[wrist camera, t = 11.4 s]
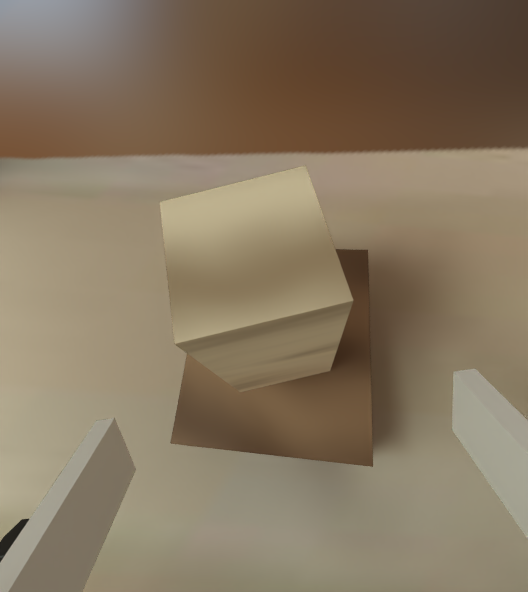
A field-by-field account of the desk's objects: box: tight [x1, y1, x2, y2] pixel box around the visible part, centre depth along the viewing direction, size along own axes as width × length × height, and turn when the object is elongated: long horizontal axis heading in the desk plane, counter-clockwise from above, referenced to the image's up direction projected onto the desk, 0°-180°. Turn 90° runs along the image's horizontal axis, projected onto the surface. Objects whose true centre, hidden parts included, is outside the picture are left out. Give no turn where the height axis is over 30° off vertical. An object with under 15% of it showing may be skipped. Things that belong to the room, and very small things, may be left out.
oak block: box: [160, 165, 353, 392], centre depth 18 cm, size 6×6×12 cm
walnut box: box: [171, 249, 373, 467], centre depth 26 cm, size 14×12×6 cm
